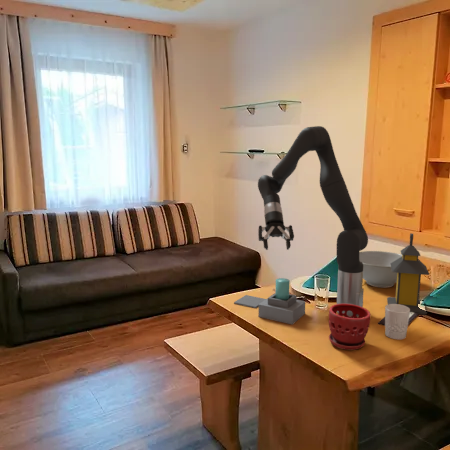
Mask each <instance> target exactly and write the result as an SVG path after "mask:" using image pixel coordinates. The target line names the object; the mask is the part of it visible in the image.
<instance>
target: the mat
mask: <svg viewBox="0 0 450 450" xmlns="http://www.w3.org/2000/svg"><path fill="white" fill-rule="evenodd" d="M266 299H267V298H261V297H257V296H254V295H248V294H246V295H243V296H242V297H240V298H239V299H237V300H235V301H234V302H233V304H235V305H240V306H244V307H248V308H251V309H257V308H259V304H260V303H261V302H263V301H264V300H266Z"/></svg>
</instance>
